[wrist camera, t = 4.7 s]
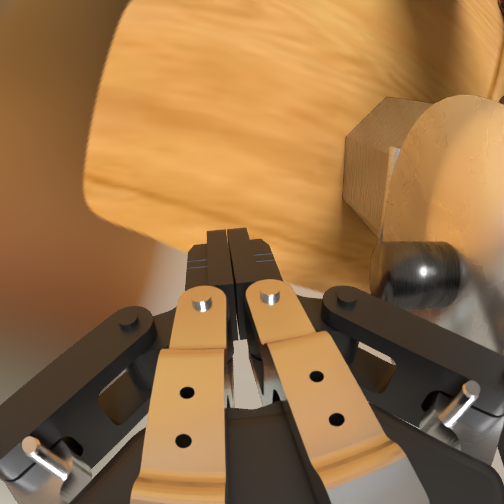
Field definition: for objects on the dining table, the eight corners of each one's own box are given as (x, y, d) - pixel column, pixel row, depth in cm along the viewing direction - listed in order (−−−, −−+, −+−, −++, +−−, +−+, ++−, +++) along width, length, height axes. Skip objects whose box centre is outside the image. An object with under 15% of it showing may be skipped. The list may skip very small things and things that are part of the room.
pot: (346, 92, 20) (405, 97, 13) (478, 117, 22) (534, 136, 15) (338, 236, 27) (379, 287, 20) (461, 225, 28) (505, 260, 22)
